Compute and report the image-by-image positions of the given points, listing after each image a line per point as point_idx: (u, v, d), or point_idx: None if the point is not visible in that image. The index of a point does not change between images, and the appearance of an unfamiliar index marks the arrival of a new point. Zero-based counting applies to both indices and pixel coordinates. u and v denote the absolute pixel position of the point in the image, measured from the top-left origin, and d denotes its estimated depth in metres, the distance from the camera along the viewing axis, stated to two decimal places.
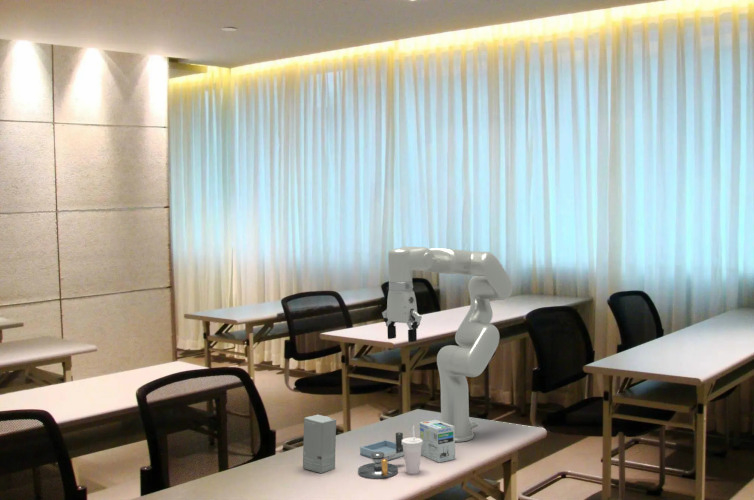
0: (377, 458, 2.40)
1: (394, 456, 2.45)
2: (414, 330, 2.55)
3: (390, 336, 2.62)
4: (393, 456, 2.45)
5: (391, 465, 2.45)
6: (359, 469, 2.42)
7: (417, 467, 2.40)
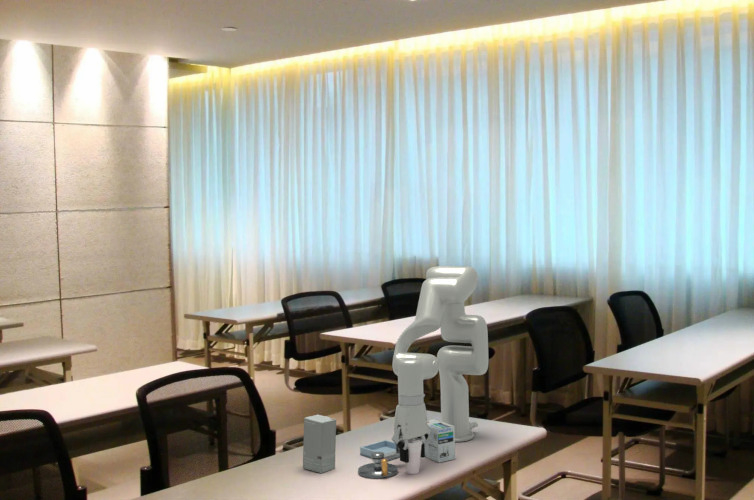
0: (377, 458, 2.40)
1: (394, 456, 2.45)
2: None
3: None
4: (393, 456, 2.45)
5: (391, 465, 2.45)
6: (359, 469, 2.42)
7: (417, 467, 2.40)
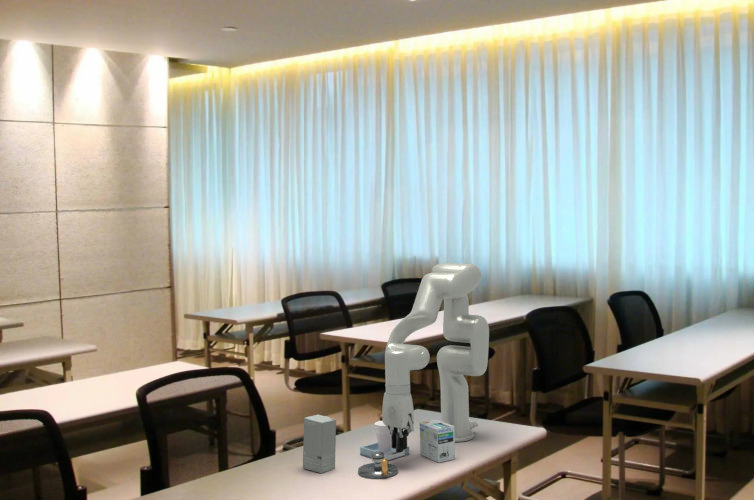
0: (377, 458, 2.40)
1: (394, 456, 2.45)
2: None
3: None
4: (393, 456, 2.45)
5: (391, 465, 2.45)
6: (359, 469, 2.42)
7: (389, 448, 2.58)
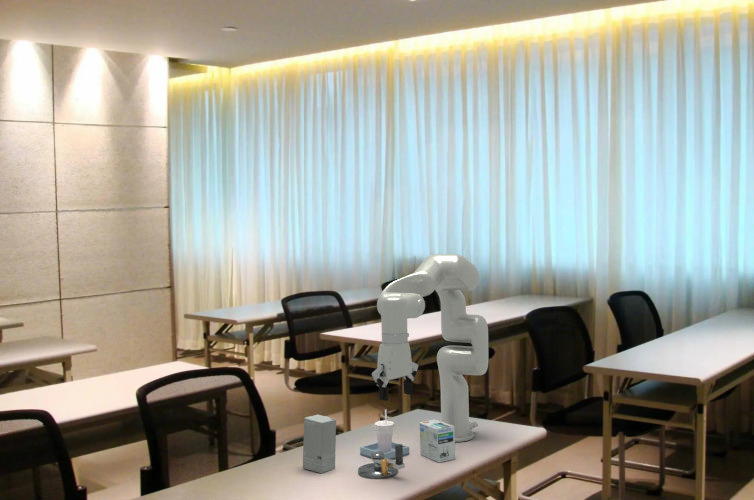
0: (371, 456, 2.42)
1: (388, 464, 2.37)
2: None
3: None
4: None
5: None
6: (359, 469, 2.42)
7: (389, 448, 2.58)
